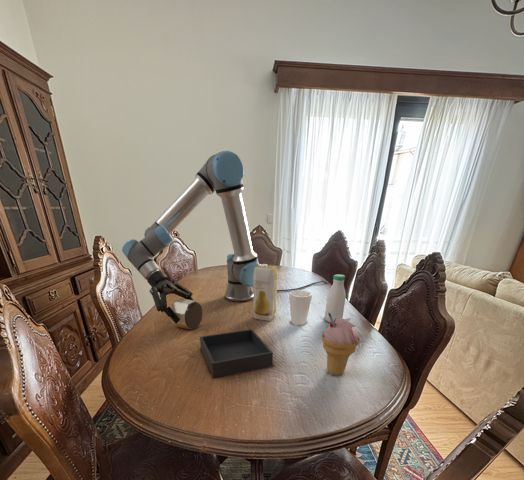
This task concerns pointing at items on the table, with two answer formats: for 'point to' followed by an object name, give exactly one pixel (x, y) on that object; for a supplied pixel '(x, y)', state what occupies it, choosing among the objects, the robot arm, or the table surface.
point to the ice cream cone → (339, 344)
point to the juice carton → (264, 292)
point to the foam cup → (299, 306)
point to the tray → (235, 352)
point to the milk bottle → (336, 299)
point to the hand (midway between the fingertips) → (188, 316)
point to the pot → (187, 313)
